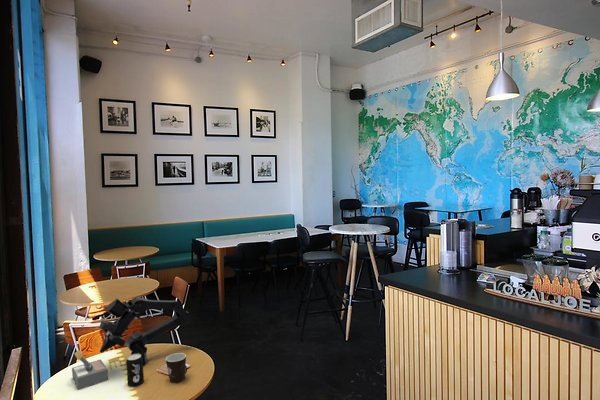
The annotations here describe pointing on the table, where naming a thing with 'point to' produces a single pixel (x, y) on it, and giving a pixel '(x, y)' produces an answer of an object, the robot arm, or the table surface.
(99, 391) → the table surface
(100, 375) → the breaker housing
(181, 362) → the coffee mug
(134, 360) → the beverage can
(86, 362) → the breaker lever
